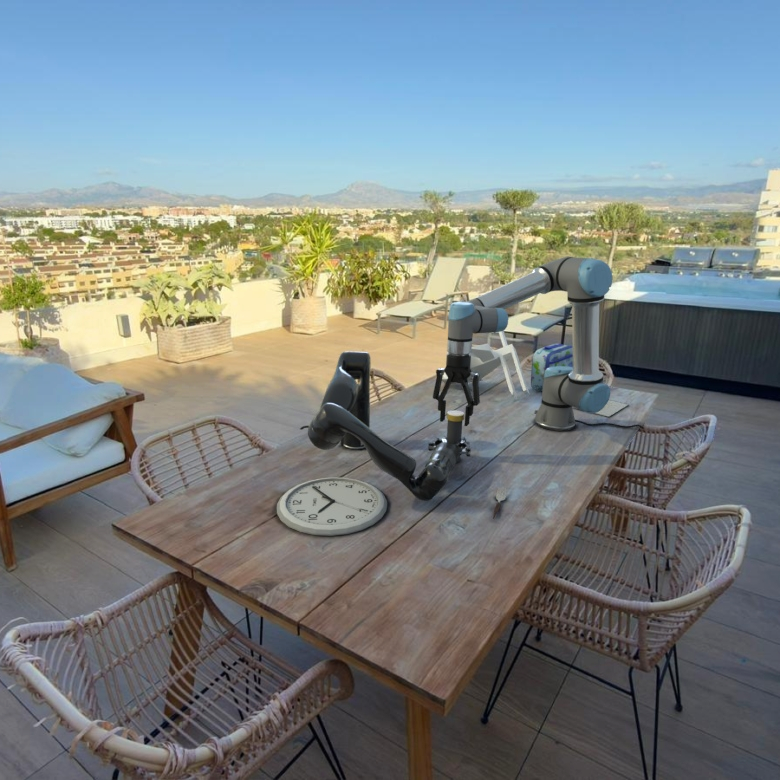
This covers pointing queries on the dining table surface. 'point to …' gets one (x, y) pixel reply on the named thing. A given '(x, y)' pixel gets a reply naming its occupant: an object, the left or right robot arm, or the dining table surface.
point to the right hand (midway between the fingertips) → (454, 422)
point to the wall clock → (331, 506)
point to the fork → (499, 498)
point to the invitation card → (611, 408)
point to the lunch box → (549, 362)
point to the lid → (455, 415)
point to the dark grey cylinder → (454, 432)
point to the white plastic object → (495, 363)
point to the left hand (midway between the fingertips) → (455, 438)
